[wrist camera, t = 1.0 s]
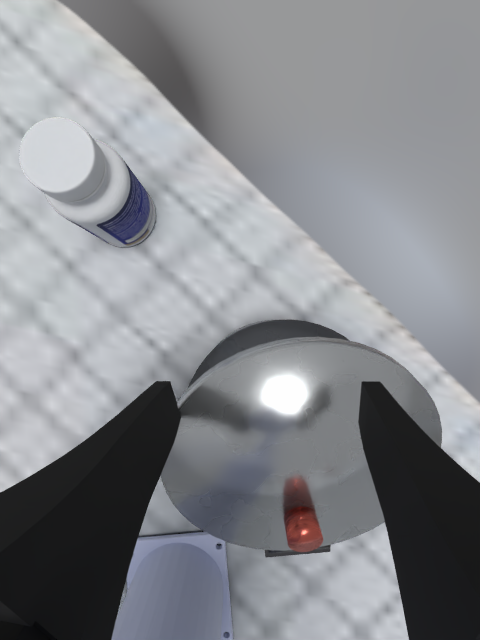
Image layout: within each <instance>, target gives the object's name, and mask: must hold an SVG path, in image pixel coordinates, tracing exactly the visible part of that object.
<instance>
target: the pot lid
mask: <svg viewBox="0 0 480 640" xmlns="http://www.w3.org/2000/svg"><path fill="white" fill-rule="evenodd" d="M362 381H380V382H381V383H382V384H383V385H384V386H385V388H386V389H387V390H388V391H389V393H390V394H391V395H392V396H393V397H394V399H395V400H396V401H397V402H398V403H399V404H400V406H401V407H402V408H403V409H404V410H405V411H406V412H407V414H408V415H409V416H410V417H411V418H412V419H413V420H414V421H415V422H416V423H417V424H418V425H419V426H420V428H421V429H422V430H423V431H424V432H425V433H426V434H427V435H428V436H429V437H430V438H431V439H432V440H433V441H434V442H435V443H436V444H437V445H438V446H439V447H440V448H441V443H442V428H441V422H440V417H439V414H438V411H437V408H436V406H435V403H434V401H433V400H432V398H431V397H430V395H429V394H428V392H427V390H426V389H425V388H424V387H423V386H422V385H421V384H420V383H419V382H418V381H417V380H416V378H415V377H414V376H413V375H412V374H411V373H410V372H409V371H408V370H407V369H406V368H405V367H403V366H402V365H401V364H399V363H398V362H397V361H395V360H394V359H393V358H391V357H390V356H388V355H386V354H384V353H382V352H380V351H378V350H377V349H374V348H371V347H368V346H366V345H363V344H360V343H357V342H352V341H348V340H343V339H338V338H327V337H297V338H290V339H283V340H276V341H272V342H269V343H265V344H261V345H257V346H254V347H252V348H249V349H247V350H244V351H241V352H239V353H236V354H235V355H233V356H231V357H229V358H227V359H225V360H223V361H221V362H220V363H218V364H217V365H215V366H214V367H212V368H211V369H210V370H208V371H207V372H205V373H204V374H203V375H202V376H201V377H199V378H198V379H197V380H196V381H195V382H194V383H193V384H192V385H191V386H190V387H189V388H188V389H187V391H186V392H185V393H184V394H183V395H182V397H181V398H180V399H179V401H178V402H177V405H178V409H179V412H180V415H181V420H180V424H179V428H178V431H177V435H176V438H175V441H174V444H173V446H172V449H171V451H170V454H169V456H168V459H167V461H166V463H165V466H164V468H163V470H162V473H161V478H162V482H163V485H164V487H165V490H166V493H167V494H168V496H169V498H170V499H171V501H172V503H173V504H174V505H175V507H176V508H177V509H178V510H179V512H180V513H181V514H182V515H183V516H184V517H185V518H187V519H188V520H189V521H190V522H191V523H192V524H194V525H195V526H197V527H198V528H200V529H201V530H203V531H205V532H206V533H208V534H210V535H212V536H214V537H216V538H219V539H221V540H224V541H226V542H229V543H233V544H236V545H240V546H244V547H249V548H254V549H263V550H269V554H270V553H281V552H292V551H297V552H309V551H312V550H315V549H326V548H330V545H331V544H335V543H338V542H342V541H345V540H348V539H350V538H353V537H356V536H359V535H361V534H363V533H365V532H367V531H369V530H371V529H373V528H375V527H377V526H379V525H380V524H382V523H384V522H385V520H384V516H383V513H382V509H381V506H380V503H379V499H378V496H377V493H376V490H375V486H374V483H373V480H372V477H371V473H370V470H369V467H368V463H367V460H366V457H365V453H364V450H363V445H362V440H361V435H360V429H359V423H358V419H359V407H360V394H361V382H362Z"/></svg>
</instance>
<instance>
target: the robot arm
mask: <svg viewBox="0 0 480 640" xmlns="http://www.w3.org/2000/svg"><path fill="white" fill-rule="evenodd" d="M180 420H181V415H180V412H179V409H178V405H177V402H176V399H175V396H174V393H173V389H172V386H171V383H170V381H156V382H155V383H154V384H153V385H151V386H150V387H149V388H148V389H147V390H145V391H144V392H143V393H142V394H141V395H140V396H139V397H137V398H136V399H135V400H134V401H133V402H132V403H131V404H129V405H128V406H127V407H126V408H125V409H124V410H122V411H121V412H120V413H119V414H118V415H117V416H115V417H114V418H113V419H112V420H110V421H109V422H108V423H107V424H105V425H104V426H103V427H102V428H100V429H99V430H98V431H97V432H95V433H94V434H93V435H92V436H90V437H89V438H88V439H86V440H85V441H84V442H82V443H81V444H80V445H78V446H77V447H75V448H74V449H72V450H71V451H69V452H68V453H67V454H65V455H64V456H62V457H61V458H59V459H57V460H56V461H54V462H53V463H51V464H49V465H48V466H46V467H44V468H43V469H41V470H40V471H38V472H36V473H35V474H33V475H32V476H30V477H28V478H26V479H25V480H23V481H21V482H19V483H17V484H16V485H14V486H12V487H10V488H8V489H6V490H5V491H3V492H1V493H0V640H234V638H233V626H232V614H231V603H230V591H229V579H228V567H227V555H226V544H225V541H224V540H221V539H219V538H216V537H214V536H212V535H210V534H208V533H206V532H197V533H186V534H175V535H163V536H152V537H140V538H138V535H139V532H140V529H141V526H142V523H143V520H144V516H145V513H146V510H147V507H148V504H149V502H150V499H151V497H152V494H153V492H154V489H155V487H156V485H157V482H158V480H159V477H160V475H161V473H162V470H163V468H164V466H165V463H166V461H167V459H168V456H169V454H170V451H171V449H172V446H173V444H174V441H175V438H176V435H177V431H178V428H179V424H180ZM358 423H359V429H360V435H361V440H362V445H363V450H364V453H365V457H366V460H367V463H368V467H369V470H370V473H371V477H372V480H373V483H374V486H375V490H376V493H377V496H378V499H379V503H380V506H381V509H382V513H383V516H384V520H385V524H386V527H387V531H388V536H389V541H390V546H391V550H392V555H393V560H394V564H395V569H396V574H397V579H398V584H399V589H400V594H401V599H402V604H403V610H404V615H405V620H406V626H407V631H408V636H409V640H480V483H479V482H478V481H477V480H476V479H475V478H473V477H472V476H471V475H470V474H469V473H468V472H466V471H465V470H464V469H463V468H462V467H461V466H460V465H458V464H457V463H456V462H455V461H454V460H453V459H452V458H451V457H450V456H449V455H448V454H446V453H445V452H444V451H443V450H442V449H441V448H440V447H439V446H438V445H437V444H436V443H435V442H434V441H433V440H432V439H431V438H430V437H429V436H428V435H427V434H426V433H425V432H424V431H423V430H422V429H421V428H420V426H419V425H418V424H417V423H416V422H415V421H414V420H413V419H412V418H411V417H410V416H409V415H408V414H407V412H406V411H405V410H404V409H403V408H402V407H401V406H400V404H399V403H398V402H397V401H396V400H395V399H394V397H393V396H392V395H391V394H390V393H389V391H388V390H387V389H386V388H385V386H384V385H383V384H382V383H381V382H380V381H362V382H361V394H360V407H359V419H358ZM217 543H221V544H222V545H221V546H218V545H216V544H217ZM126 578H127V588H128V592H127V594H126V596H125V599H124V601H123V604H122V606H121V609H120V611H119V613H118V609H119V605H120V600H121V597H122V593H123V589H124V585H125V582H126ZM117 613H118V616H117ZM116 617H117V618H116ZM225 632H229V633H225Z"/></svg>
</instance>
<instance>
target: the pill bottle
mask: <svg viewBox="0 0 480 640" xmlns="http://www.w3.org/2000/svg"><path fill="white" fill-rule="evenodd" d="M19 161H20V165H21V168H22V171H23V173H24V174H25V176H26V177H27V179H28V180H29V181H30V182H31V183H32V184H33V185H34V186H36V187H37V188H38V189H40V190H41V191H42V192H44V194H45V196H46V198H47V200H48V202H49V203H50V205H51V206H52V207H53V208H54V209H55V211H56V212H58V213H59V214H60V215H61V216H63V217H64V218H66V219H67V220H69V221H71V222H73V223H74V224H76V225H78V226H80V227H81V228H83V229H85V230H86V231H88V232H90V233H91V234H93V235H95V236H96V237H98V238H100V239H101V240H103V241H105V242H107V243H109V244H111V245H114V246H118V247H130V246H134V245H136V244H138V243H140V242H142V241H143V240H144V239H145V238H147V236H148V235H149V234H150V233H151V231H152V229H153V227H154V223H155V218H156V212H155V206H154V203H153V201H152V199H151V197H150V196H149V194H148V193H147V192H146V190H145V189H144V187H143V186H142V185H141V183H140V182H139V181H138V179H137V178H136V177H135V175H134V174H133V172H132V171H131V170H130V168H129V167H128V166H127V164H126V163H125V161H124V160H123V159H122V157H121V156H120V155H119V154H118V153H117V152H116V151H115V150H114V149H113V148H112V147H111V146H109V145H107V144H106V143H104V142H102V141H100V140H97V139H94V138H92V137H91V136H90V134H89V133H88V132H87V131H86V130H85V129H84V128H83V127H82V126H81V125H79V124H78V123H76V122H74V121H72V120H70V119H67V118H62V117H53V118H47V119H44V120H41V121H39V122H37V123H36V124H35V125H33V126H32V127H31V128H30V129H29V130H28V131H27V132H26V134H25V135H24V137H23V139H22V142H21V145H20V150H19Z"/></svg>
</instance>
